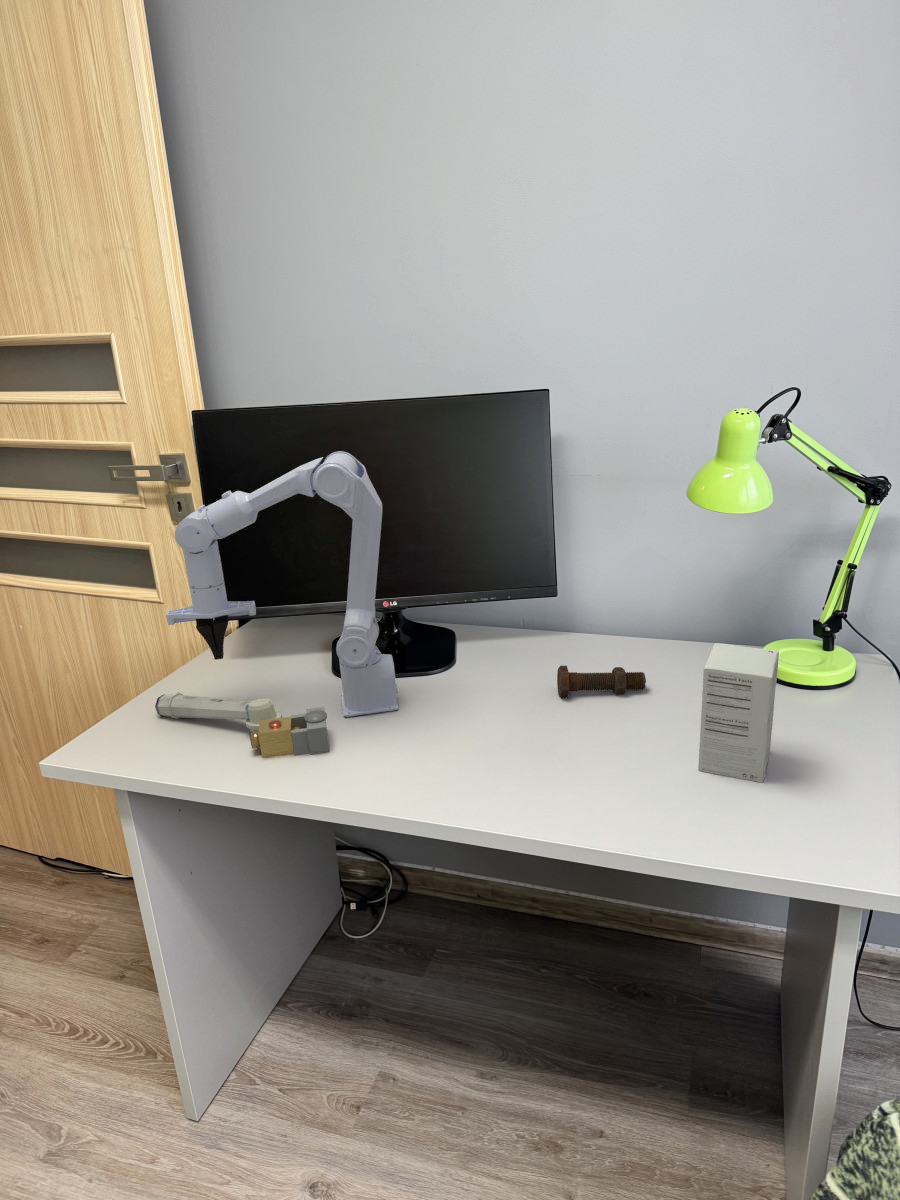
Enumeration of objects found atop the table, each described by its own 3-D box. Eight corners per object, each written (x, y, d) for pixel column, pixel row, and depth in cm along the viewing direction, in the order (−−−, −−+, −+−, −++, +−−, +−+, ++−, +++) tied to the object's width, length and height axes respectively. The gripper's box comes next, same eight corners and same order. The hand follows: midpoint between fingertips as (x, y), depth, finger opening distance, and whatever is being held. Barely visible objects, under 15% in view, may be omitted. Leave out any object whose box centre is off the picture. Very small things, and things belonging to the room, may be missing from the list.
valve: (303, 739, 137) (300, 713, 135) (303, 753, 133) (299, 726, 131) (254, 745, 136) (250, 719, 134) (252, 759, 132) (248, 733, 130)
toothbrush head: (170, 688, 149) (281, 690, 138) (180, 721, 151) (291, 725, 140) (149, 701, 145) (263, 704, 134) (160, 735, 147) (273, 741, 136)
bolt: (644, 702, 146) (558, 703, 146) (640, 678, 149) (556, 679, 149) (649, 683, 141) (561, 685, 142) (645, 659, 145) (558, 660, 145)
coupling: (329, 730, 139) (325, 704, 137) (331, 751, 132) (327, 724, 131) (294, 735, 138) (290, 709, 136) (294, 756, 132) (290, 729, 130)
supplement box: (707, 740, 129) (713, 640, 123) (771, 750, 125) (780, 648, 119) (696, 771, 121) (702, 667, 115) (763, 784, 117) (773, 676, 111)
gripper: (251, 571, 144) (262, 642, 149) (165, 580, 142) (178, 653, 147) (249, 584, 138) (261, 658, 142) (159, 594, 135) (173, 669, 140)
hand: (219, 657), depth 144 cm, fingers closed
